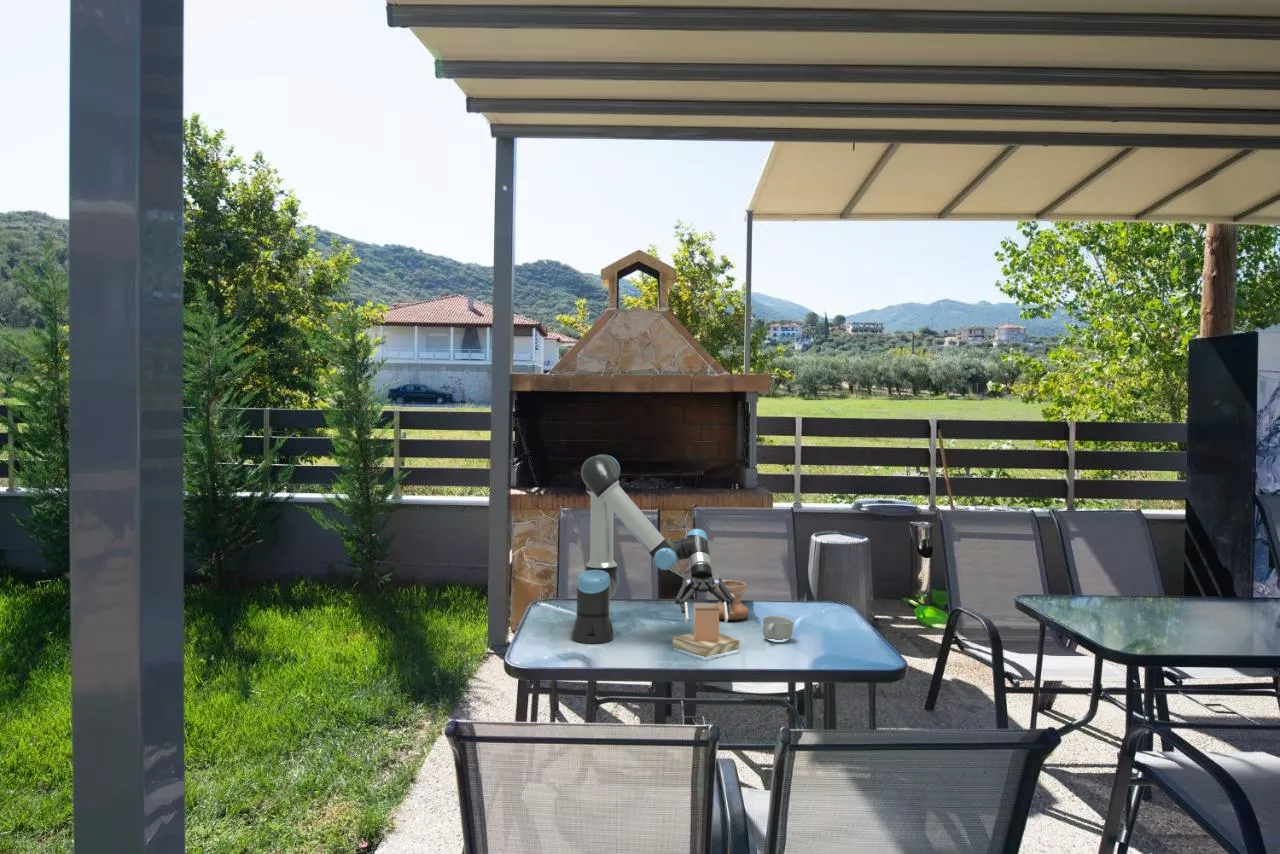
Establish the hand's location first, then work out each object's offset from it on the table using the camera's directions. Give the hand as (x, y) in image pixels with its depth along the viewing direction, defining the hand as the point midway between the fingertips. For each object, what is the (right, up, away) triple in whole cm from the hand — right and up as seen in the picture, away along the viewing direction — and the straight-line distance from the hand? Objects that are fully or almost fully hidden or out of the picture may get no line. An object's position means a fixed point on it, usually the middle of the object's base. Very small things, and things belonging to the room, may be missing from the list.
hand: (706, 620), depth 297 cm
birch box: (0, -11, +1) cm, 11 cm away
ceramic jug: (+13, -10, +49) cm, 52 cm away
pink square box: (0, -6, +1) cm, 6 cm away
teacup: (+26, -11, +15) cm, 32 cm away
